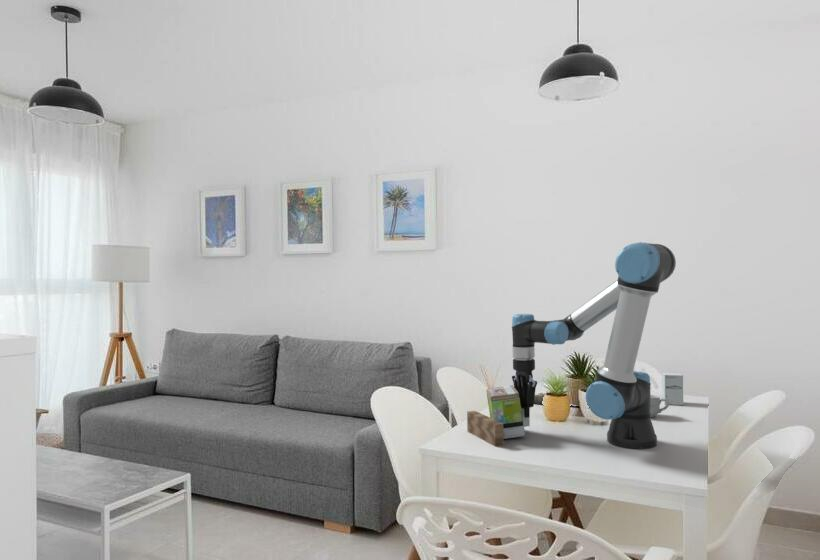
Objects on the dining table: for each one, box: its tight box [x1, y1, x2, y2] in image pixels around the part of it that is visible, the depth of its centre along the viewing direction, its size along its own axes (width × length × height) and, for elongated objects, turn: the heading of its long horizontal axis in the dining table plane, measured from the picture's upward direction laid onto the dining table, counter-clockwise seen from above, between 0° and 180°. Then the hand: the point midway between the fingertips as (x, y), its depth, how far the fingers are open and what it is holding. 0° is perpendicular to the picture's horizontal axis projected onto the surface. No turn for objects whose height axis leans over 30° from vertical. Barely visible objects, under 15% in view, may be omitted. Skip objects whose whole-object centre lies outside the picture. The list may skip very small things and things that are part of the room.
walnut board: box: [466, 410, 505, 447], centre depth 192 cm, size 20×3×7 cm, turn 21°
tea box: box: [485, 384, 526, 440], centre depth 196 cm, size 15×10×15 cm, turn 178°
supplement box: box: [661, 371, 684, 406], centre depth 240 cm, size 7×7×13 cm
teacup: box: [650, 394, 670, 418], centre depth 217 cm, size 14×11×8 cm
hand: (525, 425), depth 198 cm, fingers closed
